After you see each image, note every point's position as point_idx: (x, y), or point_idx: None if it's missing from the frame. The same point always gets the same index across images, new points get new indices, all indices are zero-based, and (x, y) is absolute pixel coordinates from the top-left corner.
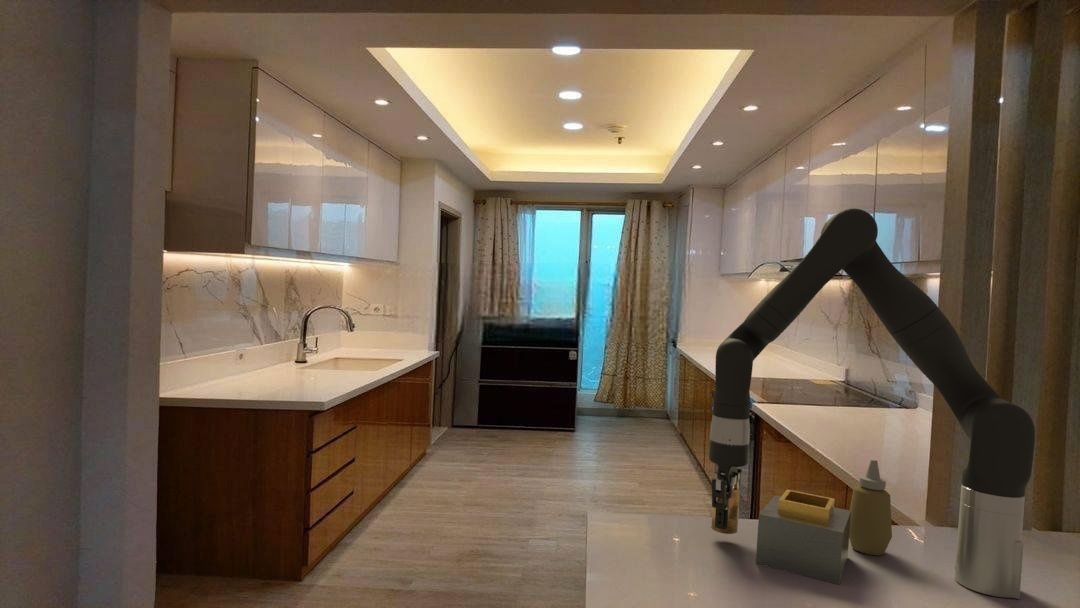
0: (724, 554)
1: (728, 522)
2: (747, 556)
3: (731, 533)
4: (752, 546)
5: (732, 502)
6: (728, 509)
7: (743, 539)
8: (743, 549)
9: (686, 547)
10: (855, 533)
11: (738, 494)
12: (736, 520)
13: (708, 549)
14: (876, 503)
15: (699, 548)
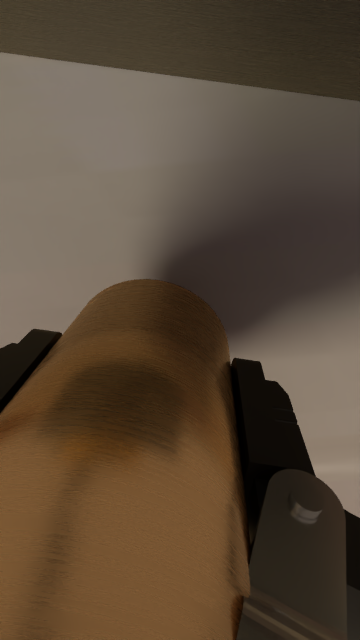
0: (348, 297)
1: (227, 371)
2: (328, 176)
3: (211, 310)
4: (136, 163)
5: (227, 518)
6: (236, 462)
7: (55, 227)
8: (220, 211)
9: (326, 440)
10: None
11: (87, 607)
12: (170, 326)
13: (309, 367)
14: None
15: (314, 399)
